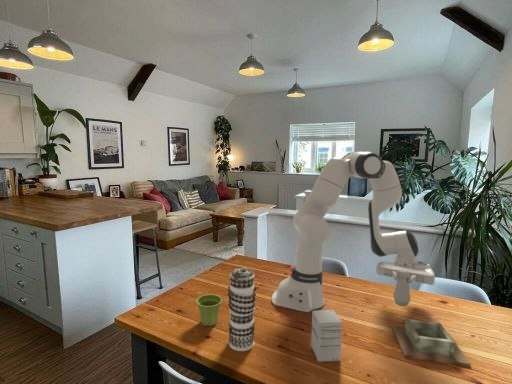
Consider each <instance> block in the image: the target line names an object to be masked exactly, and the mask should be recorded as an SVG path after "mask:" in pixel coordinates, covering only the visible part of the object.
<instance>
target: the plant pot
mask: <svg viewBox="0 0 512 384" xmlns="http://www.w3.org/2000/svg"><path fill="white" fill-rule="evenodd" d="M195 301H196V304H197V307H198V312H199V319H200V323H201V325H202V326H204V327H207V326H208V327H213V326H215V325H216V324H217V323H218V321H219V314H220V307H221V304H222V302H223V298H222V297H221V296H220V295H218V294H210V293H208V294H203V295H200V296H199V297H197V299H196V300H195Z"/></svg>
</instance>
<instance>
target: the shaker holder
mask: <svg viewBox="0 0 512 384" xmlns="http://www.w3.org/2000/svg"><path fill="white" fill-rule="evenodd" d="M391 329H392V331H393V335H394V336H395V338H396V341H397V343H398V345H399V348H400V350H401V352H402V355H403V357H404V358H406V359H412V360H413V359H414V360H421V361H427V362H435V363H440V364H441V363H442V364H447V365H453V366H454V365H455V366H461V367H468V368H471V366H472V364H471V362H470V360H469V359H468V358H467V356H465V354H464V353H463V351H462V349H460V347H459V346H458V344H457V343H456V342H455V340H454V339H453V337H451V335H450V334H449V332H448V331H447V330H446V329H445V328H444V326H443V325H442V323H441V322H435V321H433V322H432V321H427V320H426V321H424V320H416V319H407V318H406V319H405V326H398V325H392V328H391Z"/></svg>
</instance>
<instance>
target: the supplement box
mask: <svg viewBox="0 0 512 384" xmlns="http://www.w3.org/2000/svg"><path fill="white" fill-rule="evenodd" d="M311 312H312V313H311V339H310V341H311V342H310V343H311V344H310V346H311V349H312V350H313V353H314V356H315V358H316V360H317V362H337V361H341V355H342V354H341V351H342V336H343V335H342V334H343V333H342V332H343V322H342V320H341V319H340V317H339V316H338V315H337V313H336V311H335V310H333V309H325V310H324V309H323V310H322V309H321V310H311Z"/></svg>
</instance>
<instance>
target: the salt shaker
mask: <svg viewBox="0 0 512 384" xmlns="http://www.w3.org/2000/svg"><path fill="white" fill-rule="evenodd" d="M397 276H399V279H398V281H397V280H396V285H395V288H394V291H393V295H392V297H393V300H394V302H395V305H398V306H400V307H406V306H409V304H410V302H411V300H412V299H411V293H410V285H409V284H410V283H408V278H409V277H410V272H409V271H407V270H404V269H399V270H398V271H397Z"/></svg>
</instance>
